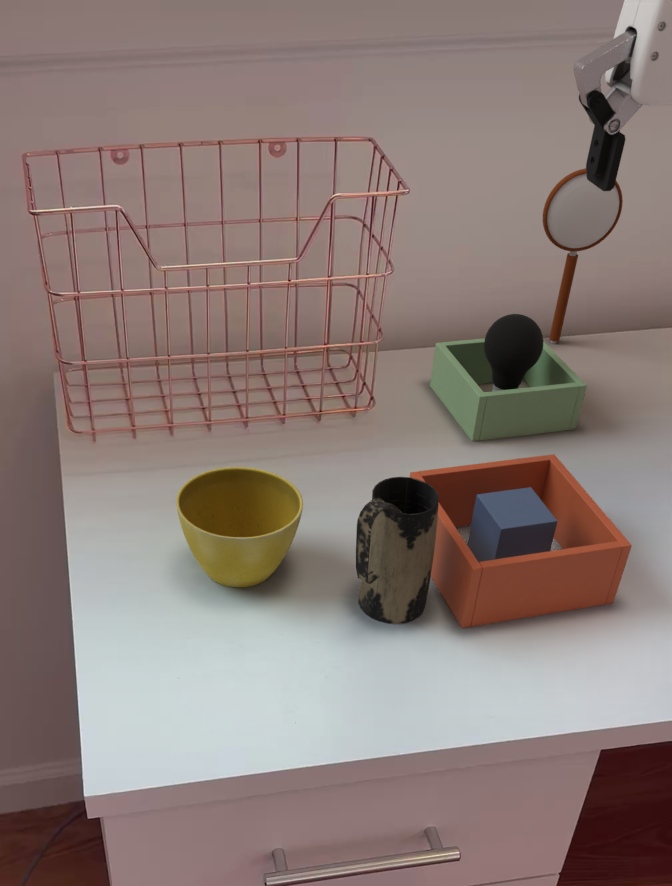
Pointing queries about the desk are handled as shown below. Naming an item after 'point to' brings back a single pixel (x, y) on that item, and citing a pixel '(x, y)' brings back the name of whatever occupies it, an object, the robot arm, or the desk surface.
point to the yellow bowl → (239, 522)
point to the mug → (396, 549)
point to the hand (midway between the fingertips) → (654, 181)
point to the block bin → (528, 576)
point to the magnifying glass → (577, 227)
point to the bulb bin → (505, 393)
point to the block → (510, 525)
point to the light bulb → (512, 349)
